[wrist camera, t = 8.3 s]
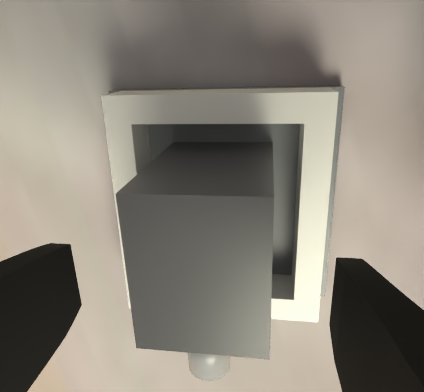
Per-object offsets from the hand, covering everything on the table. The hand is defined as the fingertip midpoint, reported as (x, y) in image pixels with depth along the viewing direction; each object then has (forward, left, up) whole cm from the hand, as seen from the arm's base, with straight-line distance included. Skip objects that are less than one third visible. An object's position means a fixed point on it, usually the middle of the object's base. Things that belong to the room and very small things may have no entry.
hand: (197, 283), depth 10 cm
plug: (0, 0, -6) cm, 6 cm away
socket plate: (0, 0, -7) cm, 7 cm away
